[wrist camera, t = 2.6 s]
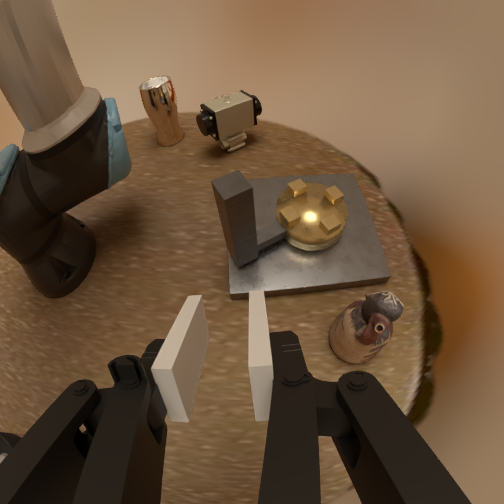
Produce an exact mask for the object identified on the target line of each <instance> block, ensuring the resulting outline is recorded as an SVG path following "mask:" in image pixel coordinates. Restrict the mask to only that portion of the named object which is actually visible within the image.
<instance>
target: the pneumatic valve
mask: <svg viewBox="0 0 504 504" xmlns="http://www.w3.org/2000/svg"><path fill="white" fill-rule="evenodd" d="M200 106H201V110H200V112H201V114H199V115H197V117H196V120H197V124H198V127H199V129H200V131H201V132H202V134H203V135H204V136H208V135H211V136H212V137H213V138H214V139H215V140H216V141H218V140H219V144H220V146H221V148H222V149H224V150H225V149H228V150H227V151H228V152H232V151H235V150H237V149H239V148H241V147H244V146H245V142H244V141H245V140H246V139H247V136H246V133H245V132H244V131H243V130H244V129H247V128H249V127H252V126H255V125H257V120H258V118H257V117H256V116H258V115H260V114H261V112H262V107H261V103H260V101H259V100H258V98H257V97H255V96H254V95H249V94H248V93H246V92H244V91H242V90H241V91H238V92H235V93H232V94H229V95H225V96H224V95H222V96H221V97H220V98H218V97H216V98H215V100H212V101H209V102H206V103H204V104H201V105H200Z"/></svg>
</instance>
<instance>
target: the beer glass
mask: <svg viewBox="0 0 504 504" xmlns="http://www.w3.org/2000/svg"><path fill="white" fill-rule="evenodd" d="M139 89H140V94H141V98H142V102H143V105H144V108H145V111H146V113H147V114H148V116H149V118H150V120H151V122H152V123H153V125H154V127H155V129H156V132H157V138H158V143H159V144H160V145H161V146H171V145H174V144H176V143H178V142H180V141H181V140H182V138H183V137H184V133H183V131H182V129H181V127H180V125H179V122H178V112H177V100H176V94H175V91H174V88H173V85H172V82H171V79H170V77H169V76H158V77H155V78H152V79H149V80H147V81H145V82H144V83H142V84H141V85H140V86H139Z"/></svg>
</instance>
